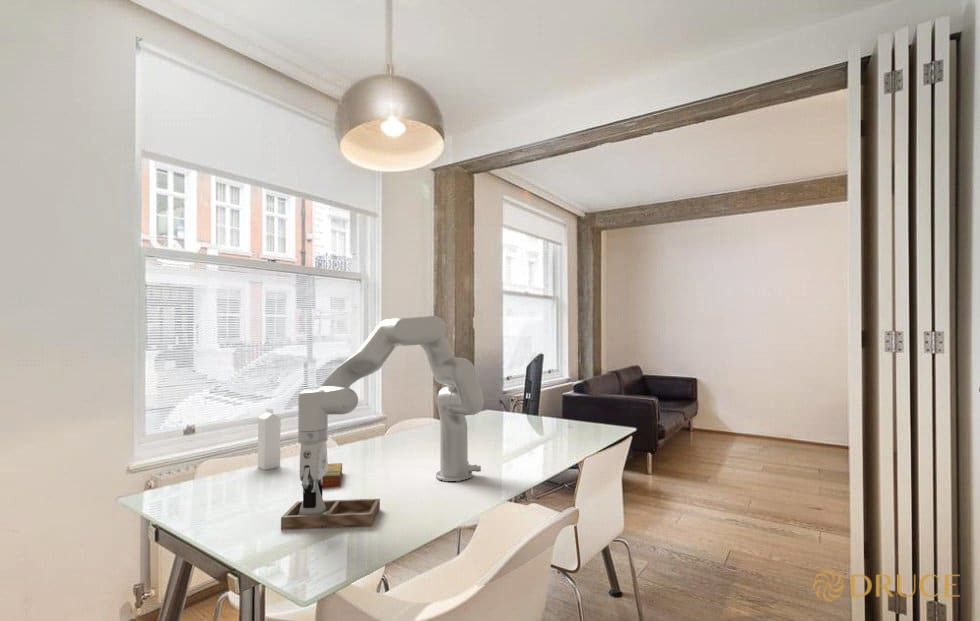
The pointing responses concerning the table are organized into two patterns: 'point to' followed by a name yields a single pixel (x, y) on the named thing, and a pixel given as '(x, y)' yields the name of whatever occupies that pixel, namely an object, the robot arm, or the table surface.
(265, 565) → the table surface
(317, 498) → the flask
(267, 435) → the milk
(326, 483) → the carton
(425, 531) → the table surface
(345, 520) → the holder
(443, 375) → the robot arm
